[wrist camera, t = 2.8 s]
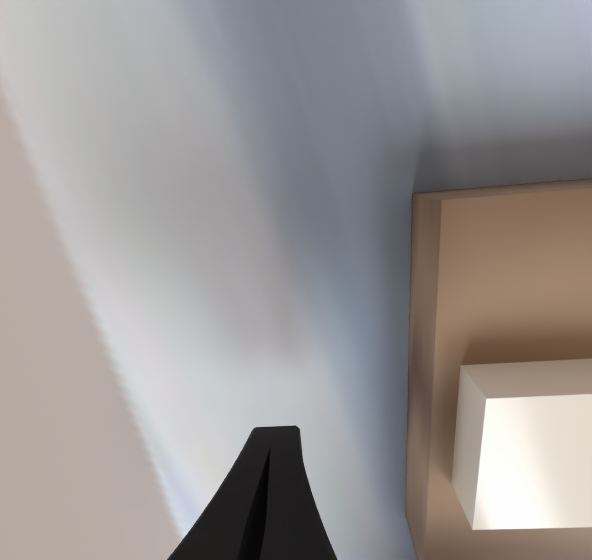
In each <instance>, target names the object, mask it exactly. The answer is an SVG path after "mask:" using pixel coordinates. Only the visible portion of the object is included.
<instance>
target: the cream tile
mask: <svg viewBox="0 0 592 560" xmlns="http://www.w3.org/2000/svg"><path fill="white" fill-rule="evenodd" d="M451 484H452V486H453V488H454V490H455V493H456V495H457V497H458V499H459V501H460V504H461V506H462V508H463V510H464V512H465V515H466V517H467V519H468V521H469V523H470V526H471V528H472V530H490V529H535V528H580V527H592V359H573V360H554V361H534V362H515V363H496V364H476V365H460V377H459V391H458V404H457V417H456V430H455V444H454V457H453V470H452V483H451Z"/></svg>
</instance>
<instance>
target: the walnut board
mask: <svg viewBox="0 0 592 560" xmlns="http://www.w3.org/2000/svg"><path fill="white" fill-rule="evenodd" d="M573 359H592V179H580V180H568V181H556V182H544V183H532V184H520V185H508V186H496V187H484V188H472V189H460V190H448V191H436V192H424V193H412V235H411V282H410V329H409V376H408V424H407V471H406V519H407V523H408V526H409V530H410V533H411V537H412V540H413V544H414V548H415V551H416V555H417V558H418V560H592V527H580V528H535V529H490V530H472V528H471V526H470V523H469V521H468V519H467V517H466V515H465V512H464V510H463V508H462V506H461V504H460V501H459V499H458V497H457V495H456V493H455V490H454V488H453V486H452V484H451V483H452V470H453V457H454V444H455V430H456V417H457V404H458V391H459V377H460V365H476V364H496V363H515V362H534V361H554V360H573Z"/></svg>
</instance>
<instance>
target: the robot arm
mask: <svg viewBox="0 0 592 560" xmlns="http://www.w3.org/2000/svg"><path fill="white" fill-rule="evenodd" d="M167 560H337V558H336V555H335V553H334V551H333V548H332V546H331V544H330V541H329V539H328V536H327V534H326V531H325V529H324V526H323V523H322V521H321V518H320V515H319V512H318V510H317V507H316V504H315V501H314V498H313V495H312V492H311V488H310V485H309V482H308V478H307V475H306V471H305V467H304V463H303V456H302V447H301V437H300V429H299V428H298V427H297V426H276V427H255V428H254V429H253V430H252V432H251V434H250V436H249V438H248V440H247V442H246V444H245V445H244V447H243V449H242V451H241V453H240V455H239V456H238V458H237V460H236V461H235V463H234V465H233V467H232V468H231V470H230V471H229V473H228V475H227V476H226V478H225V479H224V481H223V483H222V484H221V486H220V488H219V489H218V491H217V492H216V494H215V495H214V497H213V498H212V500H211V501H210V503H209V504H208V505H207V507H206V508H205V510H204V511H203V513H202V514H201V516H200V517H199V518H198V520H197V521H196V523H195V524H194V525H193V527H192V528H191V530H190V531H189V532H188V534H187V535H186V536H185V538H184V539H183V540H182V541H181V543H180V544H179V545H178V547H177V548H176V549H175V550H174V552H173V553H172V554H171V555H170V557H169V558H168V559H167Z"/></svg>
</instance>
